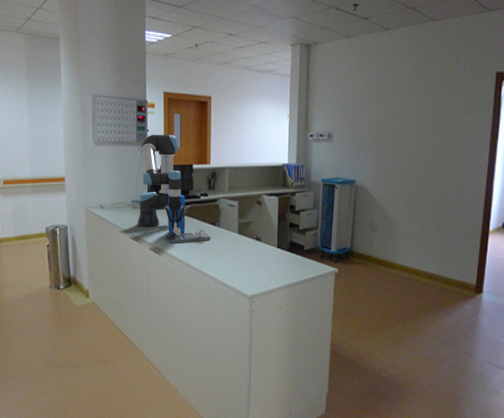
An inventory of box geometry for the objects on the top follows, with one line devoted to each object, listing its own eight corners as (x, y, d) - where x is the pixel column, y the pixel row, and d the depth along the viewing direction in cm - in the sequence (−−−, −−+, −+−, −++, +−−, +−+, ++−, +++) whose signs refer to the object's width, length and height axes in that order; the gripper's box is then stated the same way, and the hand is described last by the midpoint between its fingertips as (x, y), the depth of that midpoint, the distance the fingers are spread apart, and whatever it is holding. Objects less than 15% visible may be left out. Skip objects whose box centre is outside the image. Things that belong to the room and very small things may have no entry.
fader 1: (175, 234, 256) (175, 227, 256) (179, 234, 257) (179, 227, 257) (176, 235, 253) (176, 229, 252) (180, 235, 254) (180, 228, 253)
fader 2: (199, 235, 254) (199, 229, 253) (202, 235, 255) (202, 228, 254) (200, 237, 251) (200, 230, 250) (204, 236, 252) (204, 230, 251)
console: (164, 238, 255) (164, 234, 255) (203, 234, 266) (203, 231, 266) (169, 243, 242) (169, 240, 242) (210, 240, 253) (210, 237, 253)
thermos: (181, 235, 264) (180, 197, 260) (165, 233, 267) (165, 196, 262) (187, 231, 275) (186, 195, 271) (172, 230, 277) (171, 194, 273)
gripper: (165, 197, 244) (166, 234, 248) (186, 196, 249) (186, 233, 253) (162, 195, 251) (163, 232, 255) (183, 194, 256) (183, 230, 260)
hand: (175, 232), depth 254 cm, fingers closed
